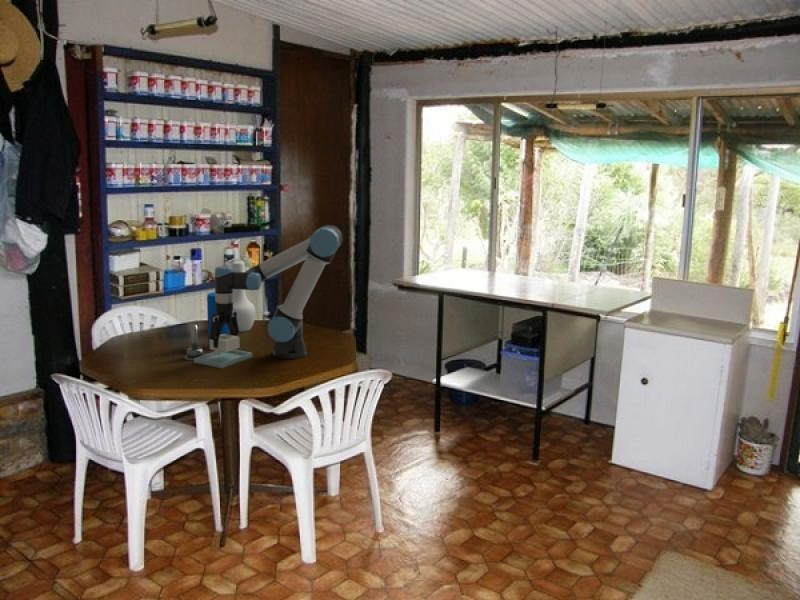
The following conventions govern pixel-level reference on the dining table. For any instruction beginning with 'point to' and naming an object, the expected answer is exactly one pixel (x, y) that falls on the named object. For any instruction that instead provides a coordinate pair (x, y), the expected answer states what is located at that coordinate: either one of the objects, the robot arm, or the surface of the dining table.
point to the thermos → (213, 315)
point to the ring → (227, 343)
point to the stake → (194, 345)
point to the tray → (223, 358)
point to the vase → (242, 304)
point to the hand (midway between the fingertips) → (224, 351)
